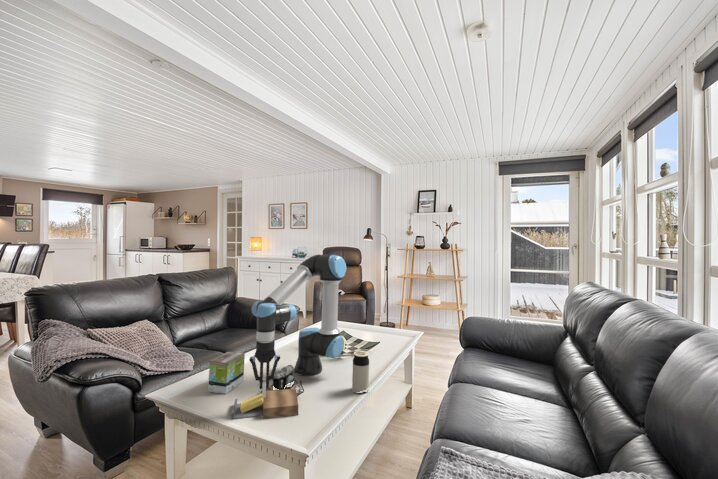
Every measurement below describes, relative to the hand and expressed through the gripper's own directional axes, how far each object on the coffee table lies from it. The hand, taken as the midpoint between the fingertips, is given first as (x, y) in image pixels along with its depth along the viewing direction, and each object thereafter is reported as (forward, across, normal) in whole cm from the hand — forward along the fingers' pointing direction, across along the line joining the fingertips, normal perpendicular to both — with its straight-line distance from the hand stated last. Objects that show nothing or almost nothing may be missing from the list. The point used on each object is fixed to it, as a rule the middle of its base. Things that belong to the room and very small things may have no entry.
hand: (263, 395), depth 141 cm
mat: (+6, +6, 0) cm, 8 cm away
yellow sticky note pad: (+4, +4, 0) cm, 6 cm away
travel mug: (+6, -45, -9) cm, 46 cm away
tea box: (+6, +18, -26) cm, 32 cm away
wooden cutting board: (+5, -7, 0) cm, 9 cm away
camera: (+6, -10, -18) cm, 22 cm away
